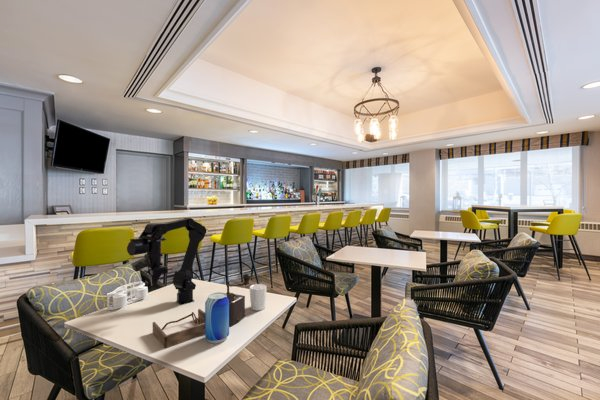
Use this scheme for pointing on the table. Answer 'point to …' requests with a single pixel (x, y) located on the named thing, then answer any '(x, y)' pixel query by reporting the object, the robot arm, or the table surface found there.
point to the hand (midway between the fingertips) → (153, 286)
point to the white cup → (258, 296)
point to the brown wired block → (180, 333)
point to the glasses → (184, 318)
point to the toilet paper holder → (122, 297)
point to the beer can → (217, 317)
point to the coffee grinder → (236, 302)
